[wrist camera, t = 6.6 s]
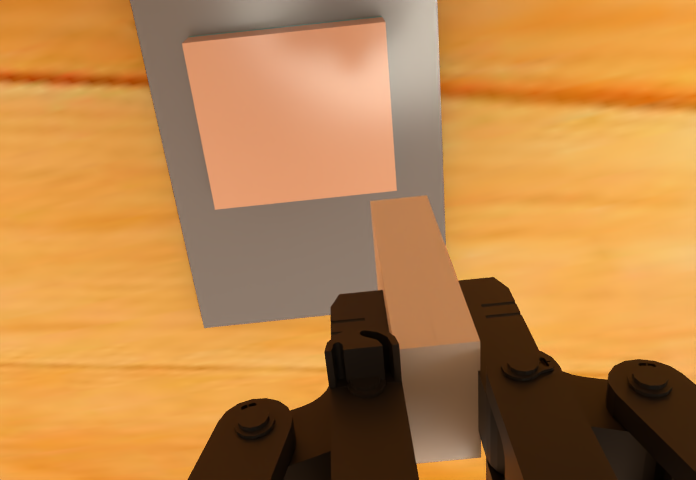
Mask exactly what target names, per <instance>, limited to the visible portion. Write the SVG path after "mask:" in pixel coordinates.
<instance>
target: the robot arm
mask: <svg viewBox="0 0 696 480" xmlns="http://www.w3.org/2000/svg"><path fill="white" fill-rule="evenodd" d="M370 205H371V216H372V228H373V239H374V251H375V262H376V274H377V285H378V290H376V291H366V292H356V293H346V294H339V295H338V297H337V298H336V300H335V301H334V303H333V304H332V306H331V307H330V308H331V340H330V341H329V342H328V343H327V345H326V348H325V359H326V367H327V374H328V381H329V387H328V389H327V390H326V391H325V393H324V394H323V395H322V396H321V397H319V398H318V399H316V400H315V401H313V402H311V403H309V404H307V405H305V406H302V407H299V408H297V409H294V410H291V411H290V410H289V408H288V407H287V406H285V405H284V404H282V403H281V402H279V401H277V400H272V399H267V398H262V399H251V400H248V401H245V402H242V403H239V404H237V405H236V406H234V407H233V408H231V409H230V410H228V411H226V413H225V414H224V415H223V416H222V418H221V419H220V420H219V421H218V423H217V425H216V427H215V429H214V431H213V433H212V435H211V437H210V438H209V440H208V442H207V444H206V446H205V448H204V450H203V452H202V454H201V455H200V457H199V459H198V461H197V463H196V465H195V467H194V469H193V471H192V472H191V474H190V476H189V478H188V480H419V477H418V471H417V465H416V464H417V463H427V462H438V461H448V460H458V459H469V458H479V457H481V441H482V444H483V448H484V451H485V454H486V480H696V385H695V384H694V383H693V382H692V381H691V380H689V379H688V378H687V377H686V376H685V375H683V374H682V373H680V372H679V371H677V370H676V369H674V368H672V367H671V366H668V365H665V364H662V363H659V362H656V361H650V360H641V359H637V360H629V361H624V362H622V363H620V364H618V365H615V366H614V367H613V368H612V370H611V371H610V372H609V374H608V380H605V379H596V378H588V377H581V376H576V375H571V374H569V373H566V372H563V371H562V370H561V368H560V366H559V365H558V364H557V362H556V361H555V360H554V359H553V358H552V357H551V356H549V355H547V354H545V353H543V352H542V351H539V349H538V347H537V345H536V343H535V341H534V339H533V337H532V335H531V333H530V331H529V329H528V327H527V325H526V323H525V321H524V319H523V317H522V315H520V311H519V309H518V307H517V305H516V304H515V300H514V298H513V296H512V294H511V292H510V290H509V288H508V287H506V286H505V285H504V284H502V283H501V282H499V281H498V280H497V279H495V278H494V277H490V278H480V279H470V280H460V281H458V279H457V276H456V274H455V271H454V268H453V265H452V263H451V260H450V257H449V254H448V252H447V249H446V246H445V243H444V241H443V238H442V235H441V233H440V230H439V227H438V224H437V222H436V219H435V216H434V213H433V211H432V208H431V205H430V202H429V200H428V197H427V195H426V196H416V197H406V198H396V199H386V200H376V201H370Z"/></svg>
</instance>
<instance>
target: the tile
mask: <svg viewBox="0 0 696 480" xmlns="http://www.w3.org/2000/svg"><path fill="white" fill-rule="evenodd" d="M182 47H183V52H184V57H185V62H186V67H187V72H188V77H189V82H190V87H191V92H192V97H193V102H194V107H195V112H196V117H197V122H198V127H199V132H200V137H201V142H202V147H203V152H204V157H205V162H206V167H207V172H208V177H209V182H210V187H211V192H212V197H213V202H214V207H215V210H217V209H227V208H236V207H246V206H255V205H265V204H274V203H284V202H293V201H303V200H313V199H322V198H332V197H341V196H351V195H360V194H370V193H380V192H389V191H397V186H396V171H395V156H394V141H393V126H392V112H391V97H390V82H389V67H388V52H387V38H386V23H385V21H384V19H383V18H382V16H376V17H366V18H357V19H348V20H338V21H329V22H319V23H310V24H300V25H291V26H281V27H272V28H262V29H253V30H243V31H234V32H224V33H215V34H205V35H196V36H189V37H188V38H187V39H186V40H185V41H184V42H183V43H182Z"/></svg>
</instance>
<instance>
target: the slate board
mask: <svg viewBox="0 0 696 480" xmlns="http://www.w3.org/2000/svg"><path fill="white" fill-rule="evenodd" d="M130 3H131V7H132V11H133V16H134V20H135V25H136V29H137V34H138V38H139V42H140V47H141V51H142V56H143V60H144V64H145V69H146V73H147V78H148V82H149V86H150V91H151V95H152V100H153V104H154V109H155V113H156V117H157V122H158V126H159V131H160V135H161V139H162V144H163V148H164V153H165V157H166V161H167V166H168V170H169V175H170V179H171V183H172V188H173V192H174V197H175V201H176V206H177V210H178V214H179V219H180V223H181V228H182V232H183V236H184V241H185V245H186V250H187V254H188V258H189V263H190V267H191V272H192V276H193V281H194V285H195V289H196V294H197V298H198V303H199V307H200V311H201V316H202V320H203V325H204V328H209V327H218V326H228V325H238V324H247V323H257V322H266V321H276V320H286V319H295V318H305V317H315V316H324V315H331V308H330V307H331V306H332V304H333V303H334V301H335V300H336V298H337V297H338V295H339V294H346V293H356V292H366V291H376V290H378V285H377V274H376V262H375V251H374V239H373V228H372V216H371V205H370V201H376V200H386V199H396V198H406V197H416V196H426V195H427V197H428V200H429V202H430V205H431V208H432V211H433V213H434V216H435V219H436V222H437V224H438V227H439V230H440V233H441V235H442V238H443V241H444V243H445V246H446V240H445V211H444V182H443V152H442V123H441V94H440V64H439V35H438V6H437V0H130ZM376 16H382V18H383V19H384V21H385V23H386V38H387V52H388V67H389V82H390V97H391V112H392V126H393V141H394V156H395V171H396V186H397V191H389V192H380V193H370V194H360V195H351V196H341V197H332V198H322V199H313V200H303V201H293V202H284V203H274V204H265V205H255V206H246V207H236V208H227V209H217V210H215V207H214V202H213V197H212V192H211V187H210V182H209V177H208V172H207V167H206V162H205V157H204V152H203V147H202V142H201V137H200V132H199V127H198V122H197V117H196V112H195V107H194V102H193V97H192V92H191V87H190V82H189V77H188V72H187V67H186V62H185V57H184V52H183V47H182V43H183V42H184V41H185V40H186V39H187V38H188V37H189V36H196V35H205V34H215V33H224V32H234V31H243V30H253V29H262V28H272V27H281V26H291V25H300V24H310V23H319V22H329V21H338V20H348V19H357V18H366V17H376Z"/></svg>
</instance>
